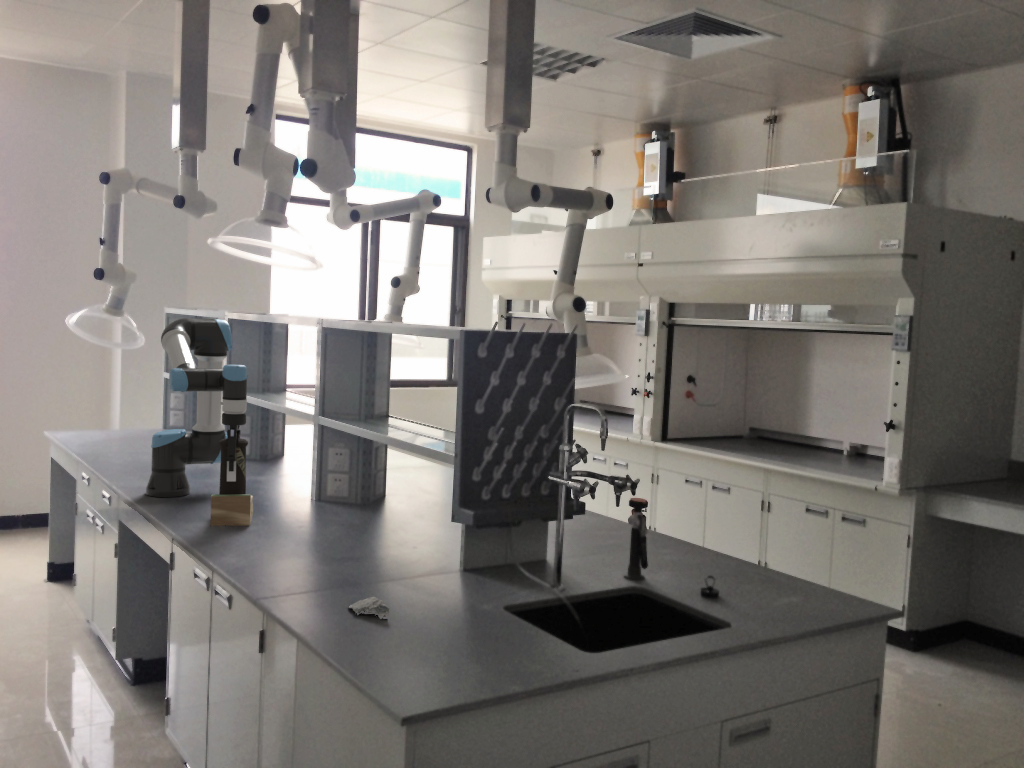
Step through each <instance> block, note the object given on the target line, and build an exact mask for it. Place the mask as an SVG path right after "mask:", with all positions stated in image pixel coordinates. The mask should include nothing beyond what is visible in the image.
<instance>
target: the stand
mask: <svg viewBox="0 0 1024 768" xmlns="http://www.w3.org/2000/svg"><path fill="white" fill-rule="evenodd" d="M253 497H254V496H253V495H251V494H247V493H246V494H231V495H219V494H211V495H210V526H211V527H212V526H213V527H219V526H220V527H221V526H225V525H226V526H231V527H233V526H251V522H252V519H253V516H254V503H253V502H254V498H253ZM226 526H225V527H226Z"/></svg>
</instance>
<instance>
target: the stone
mask: <svg viewBox="0 0 1024 768" xmlns="http://www.w3.org/2000/svg"><path fill="white" fill-rule="evenodd" d="M348 606H349V605H348ZM349 609H352V611H354V612H355V614H356V613H360V612H361V611H364V612H365V611H366V612H368V613H373V614H375V615H374V616H376V615H378V616H383V617H388V614H389V612H390V606H388V605H387V604H386V603H385V602H384V600H382V599H380V598H379V597H376V596H370V597H367V598H365V599H360V600H357V601H356V602H354V603H352V604H350V606H349Z"/></svg>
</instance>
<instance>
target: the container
mask: <svg viewBox="0 0 1024 768" xmlns="http://www.w3.org/2000/svg"><path fill="white" fill-rule="evenodd" d="M219 444H220V446H221V463H220V471H219V491H218V493H219V494H218V495H231V494H247V446H248V445H249V441H248V440H247V439H245V438H241V437H240V438H239V441H238V442H237V447H236V460H235V461H236V481H227V461H225V458H227V448H228V442H227V439H222V440H220V441H219Z"/></svg>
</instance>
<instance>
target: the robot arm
mask: <svg viewBox="0 0 1024 768" xmlns="http://www.w3.org/2000/svg"><path fill="white" fill-rule="evenodd" d="M160 344H161V346H162V348H163V350H164V351H165V352H166V353H167V355H168V358H169V359H168V360H169V362H170V366H171V369H170V371H169V374H168V375H169V376H168V380H169V381H168V384H169V388H170V390H171V391H173V392H180V393H184V392H196V394H197V396H196V397H197V398H196V423H195V424H194V425H193V426H192V427H191V432H187V431H186V429H184V428H175V429H173V428H171V429H166V430H161V431H158V432H155V433H154V434H153V435H152V437H151V446H150V447H151V473H150V475H149V478H148V482H147V483H146V487H145V494H146V496H149V497H155V498H176V497H183V496H187V495H189V494H191V485H190V483H189V480H188V476H187V473H186V465H207V464H210V465H214V464H221V446H220V444H219V441H220V440H222V439H227V442H228V448H227V458H225V461H227V481H236V461H235V460H236V447H237V442H238V441H239V438H241V429H240V426H244V425H246V424H247V413H246V412H247V409H248V406H247V403H248V401H247V400H248V399H247V392H248V390H247V389H248V387H247V386H248V376H249V375H248V368H247V366H246V365H244V364H224V365H223V360H225V359H226V358H227V356H228V352H231V351H232V349H233V336H232V331H231V326H230V324H229V322H228V321H226V320H225V319H218V318H193V317H192V318H190V317H189V318H188V317H184V318H179V319H176V320H174V321H171V322H170V323H169V324H168V325H167V326H165V328H164V329H163V331H162V333H161V336H160ZM192 351H193V352H192ZM194 357H195V358H196V359H197V361H198V362H197V364H196V360H195V358H194ZM222 412H223V413H222ZM223 425H224V426H223ZM225 426H229V429H227V431H226V428H225Z"/></svg>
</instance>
